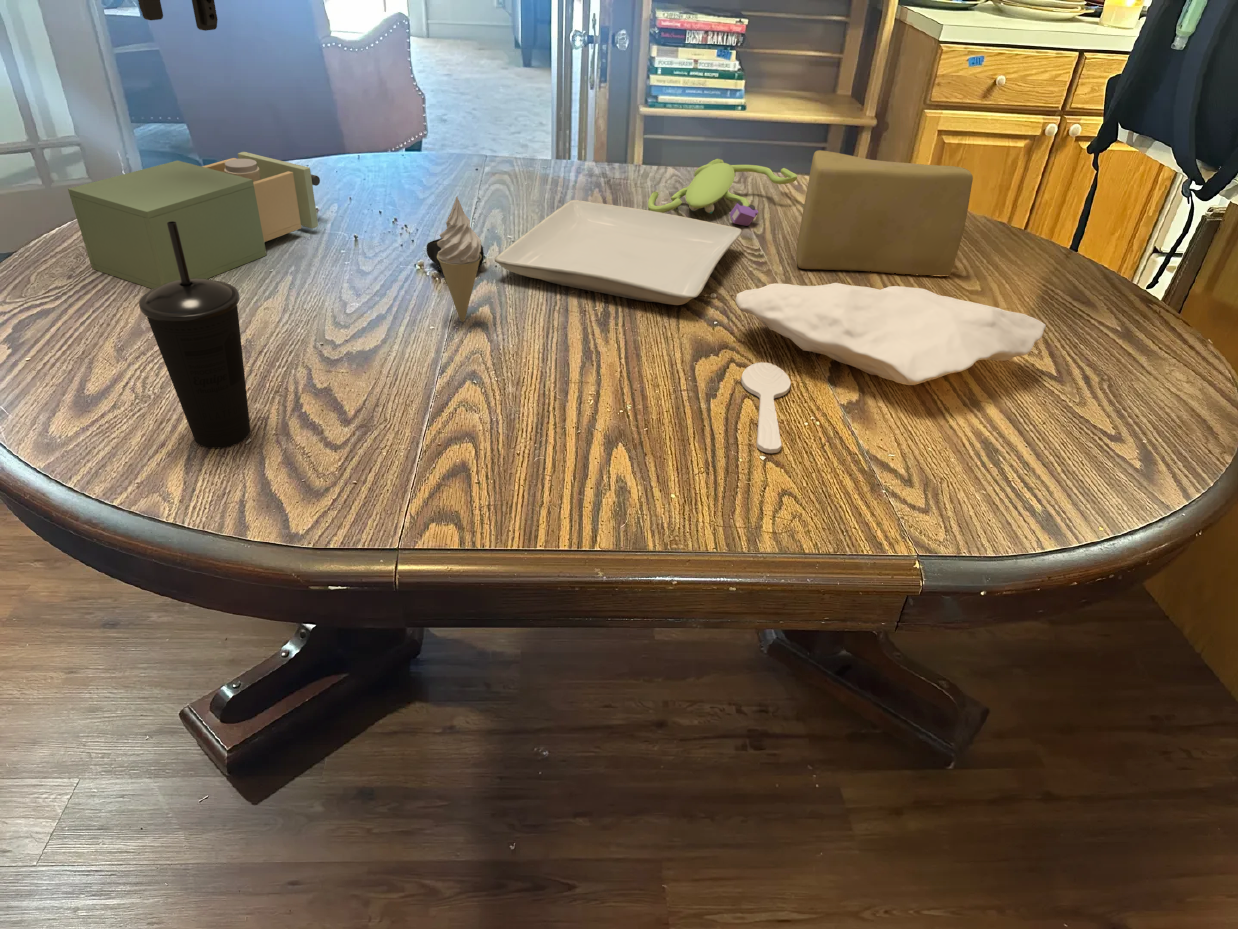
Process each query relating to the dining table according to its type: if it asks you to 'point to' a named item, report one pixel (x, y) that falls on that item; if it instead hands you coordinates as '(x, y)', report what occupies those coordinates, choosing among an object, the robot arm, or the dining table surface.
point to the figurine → (719, 190)
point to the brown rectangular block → (882, 215)
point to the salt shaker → (243, 168)
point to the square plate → (621, 251)
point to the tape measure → (434, 249)
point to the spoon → (766, 401)
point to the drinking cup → (201, 351)
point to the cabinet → (149, 198)
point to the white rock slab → (892, 328)
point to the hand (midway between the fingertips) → (180, 24)
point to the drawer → (281, 195)
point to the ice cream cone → (459, 257)
